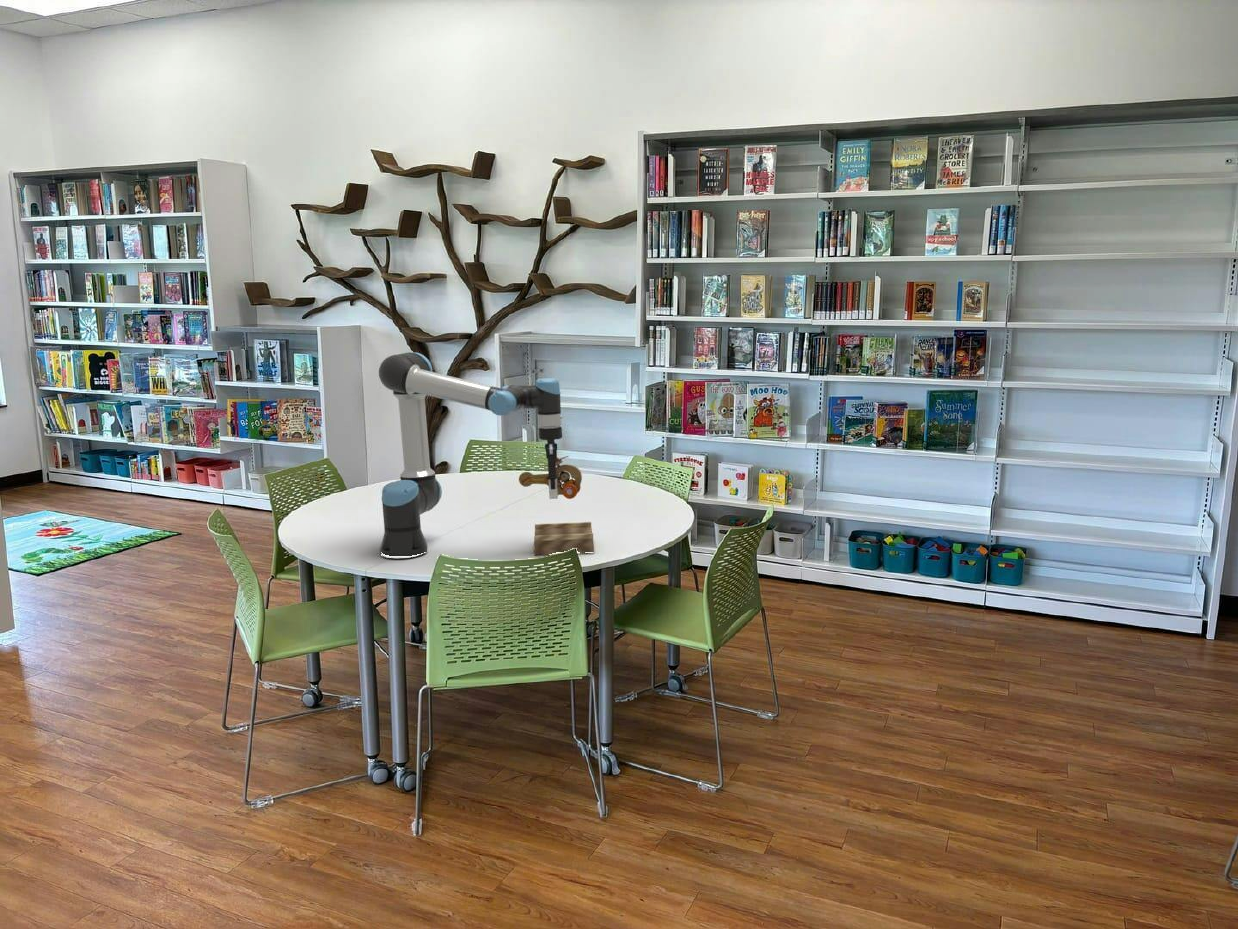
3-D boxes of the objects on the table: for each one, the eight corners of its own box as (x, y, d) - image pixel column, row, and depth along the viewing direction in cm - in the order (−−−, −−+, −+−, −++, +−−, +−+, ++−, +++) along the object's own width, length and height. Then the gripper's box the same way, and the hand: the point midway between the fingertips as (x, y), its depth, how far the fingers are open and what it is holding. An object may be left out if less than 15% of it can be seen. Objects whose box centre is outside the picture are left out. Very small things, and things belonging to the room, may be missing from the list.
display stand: (534, 556, 302) (534, 536, 301) (535, 542, 318) (534, 524, 317) (593, 553, 304) (593, 534, 302) (591, 540, 319) (591, 521, 318)
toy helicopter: (580, 499, 302) (578, 457, 300) (517, 499, 305) (515, 457, 302) (584, 493, 310) (582, 452, 308) (523, 493, 313) (520, 453, 310)
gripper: (561, 430, 293) (565, 502, 297) (561, 421, 313) (565, 489, 317) (537, 431, 293) (541, 503, 297) (539, 422, 312) (542, 490, 317)
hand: (553, 495), depth 307 cm, fingers closed on toy helicopter, 7 cm apart
